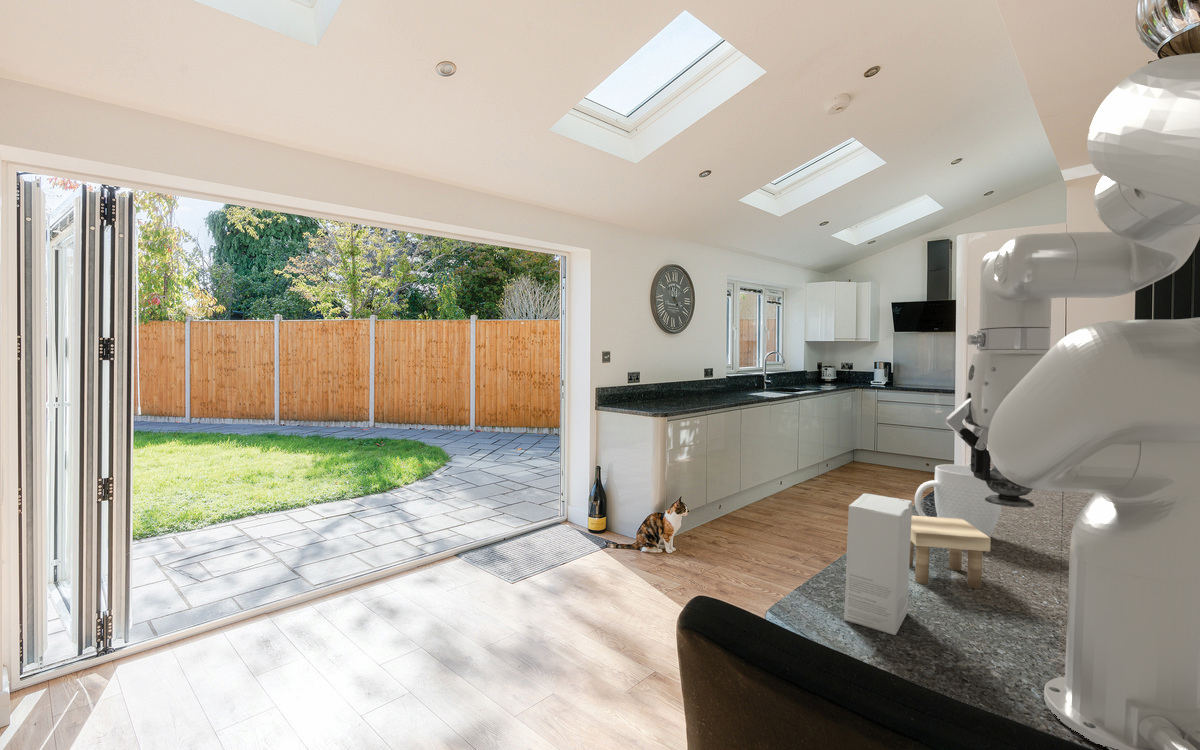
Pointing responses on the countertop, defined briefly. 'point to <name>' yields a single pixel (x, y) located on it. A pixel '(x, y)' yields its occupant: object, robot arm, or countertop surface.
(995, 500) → the salt shaker
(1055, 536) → the countertop surface
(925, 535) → the stool
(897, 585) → the skincare box
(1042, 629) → the countertop surface
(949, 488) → the mug
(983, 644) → the countertop surface
